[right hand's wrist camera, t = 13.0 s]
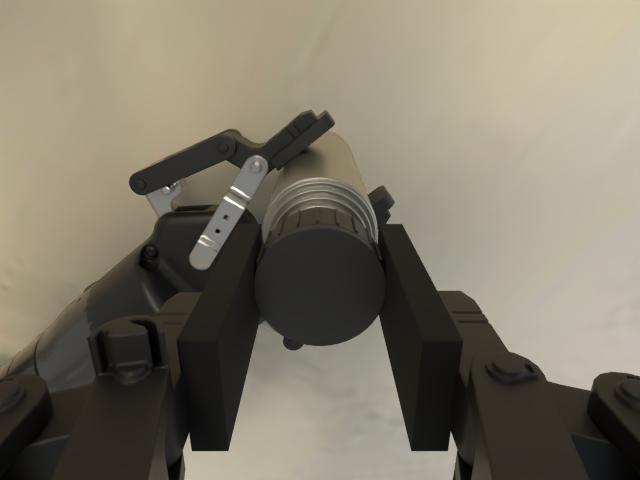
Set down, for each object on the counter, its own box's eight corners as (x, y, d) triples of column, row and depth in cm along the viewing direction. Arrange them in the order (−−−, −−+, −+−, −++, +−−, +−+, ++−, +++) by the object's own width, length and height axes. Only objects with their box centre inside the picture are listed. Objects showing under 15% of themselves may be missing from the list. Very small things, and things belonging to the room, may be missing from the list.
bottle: (282, 190, 30) (237, 336, 14) (291, 124, 29) (253, 199, 12) (346, 200, 31) (377, 355, 14) (359, 135, 29) (411, 225, 12)
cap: (301, 334, 16) (299, 368, 14) (235, 246, 14) (223, 270, 13) (401, 280, 15) (412, 309, 13) (339, 182, 13) (343, 199, 12)
